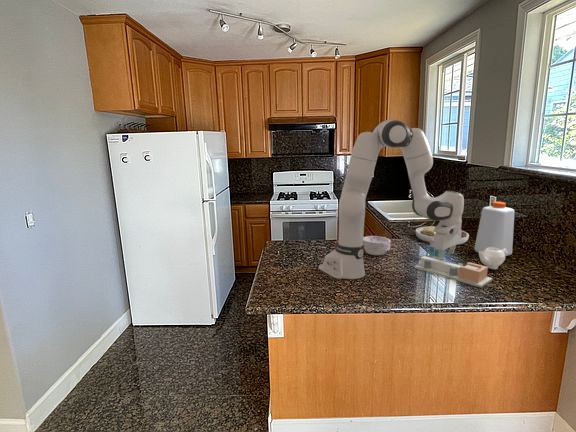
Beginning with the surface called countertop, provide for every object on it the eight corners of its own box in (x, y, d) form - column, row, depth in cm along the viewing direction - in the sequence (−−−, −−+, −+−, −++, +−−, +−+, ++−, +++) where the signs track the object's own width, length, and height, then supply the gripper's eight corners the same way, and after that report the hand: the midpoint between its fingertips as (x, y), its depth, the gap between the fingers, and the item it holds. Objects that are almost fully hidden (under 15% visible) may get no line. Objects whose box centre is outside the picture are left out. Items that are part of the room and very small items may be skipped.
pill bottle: (446, 257, 178) (449, 232, 175) (441, 261, 173) (443, 235, 170) (431, 254, 183) (434, 230, 180) (426, 258, 178) (428, 233, 175)
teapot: (515, 267, 164) (518, 249, 162) (486, 273, 156) (488, 254, 154) (497, 261, 173) (499, 243, 171) (468, 267, 165) (470, 248, 163)
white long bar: (419, 264, 166) (420, 255, 165) (424, 262, 168) (424, 254, 168) (473, 279, 147) (474, 270, 146) (477, 277, 150) (479, 267, 149)
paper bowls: (379, 247, 196) (380, 234, 194) (395, 255, 182) (396, 241, 180) (356, 250, 191) (356, 236, 190) (370, 258, 177) (371, 244, 175)
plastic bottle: (488, 247, 196) (494, 199, 190) (515, 255, 182) (522, 203, 176) (470, 251, 189) (476, 201, 183) (497, 259, 176) (504, 206, 170)
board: (414, 267, 164) (415, 256, 163) (426, 262, 172) (427, 250, 170) (481, 287, 142) (482, 274, 140) (492, 280, 149) (493, 267, 148)
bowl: (406, 239, 213) (407, 227, 211) (428, 231, 233) (429, 219, 231) (455, 250, 191) (457, 236, 190) (475, 240, 211) (477, 227, 209)
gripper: (453, 222, 163) (449, 249, 166) (432, 228, 150) (429, 258, 153) (466, 224, 158) (462, 253, 161) (446, 231, 145) (442, 262, 148)
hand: (446, 255), depth 157 cm, fingers open, 8 cm apart
